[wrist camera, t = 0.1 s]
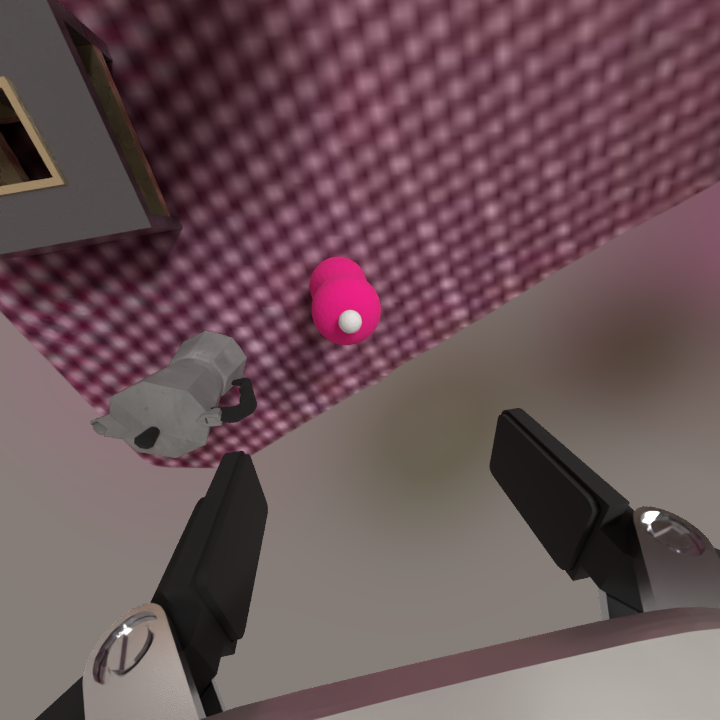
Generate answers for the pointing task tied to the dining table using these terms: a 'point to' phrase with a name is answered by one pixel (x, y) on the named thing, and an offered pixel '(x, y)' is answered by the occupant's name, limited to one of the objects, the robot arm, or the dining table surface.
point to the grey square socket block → (68, 139)
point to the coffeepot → (181, 399)
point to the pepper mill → (343, 301)
